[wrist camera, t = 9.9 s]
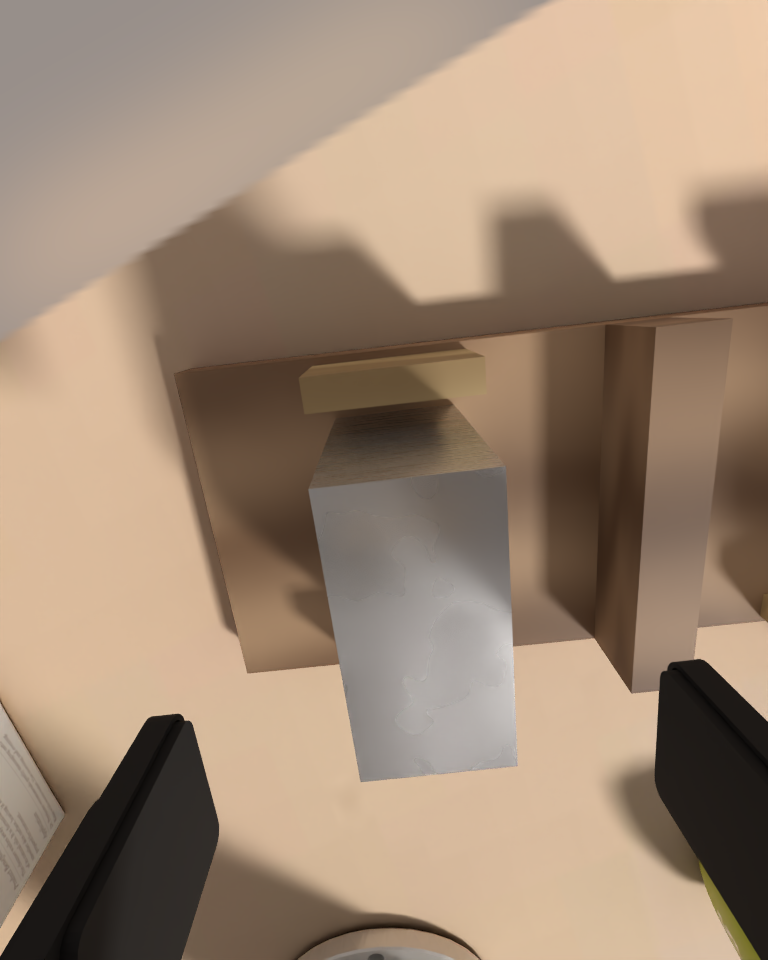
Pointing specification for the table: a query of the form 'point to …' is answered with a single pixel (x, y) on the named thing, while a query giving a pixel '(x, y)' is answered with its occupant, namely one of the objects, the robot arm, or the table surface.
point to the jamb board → (519, 477)
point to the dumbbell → (729, 921)
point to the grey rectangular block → (419, 591)
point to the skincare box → (21, 815)
